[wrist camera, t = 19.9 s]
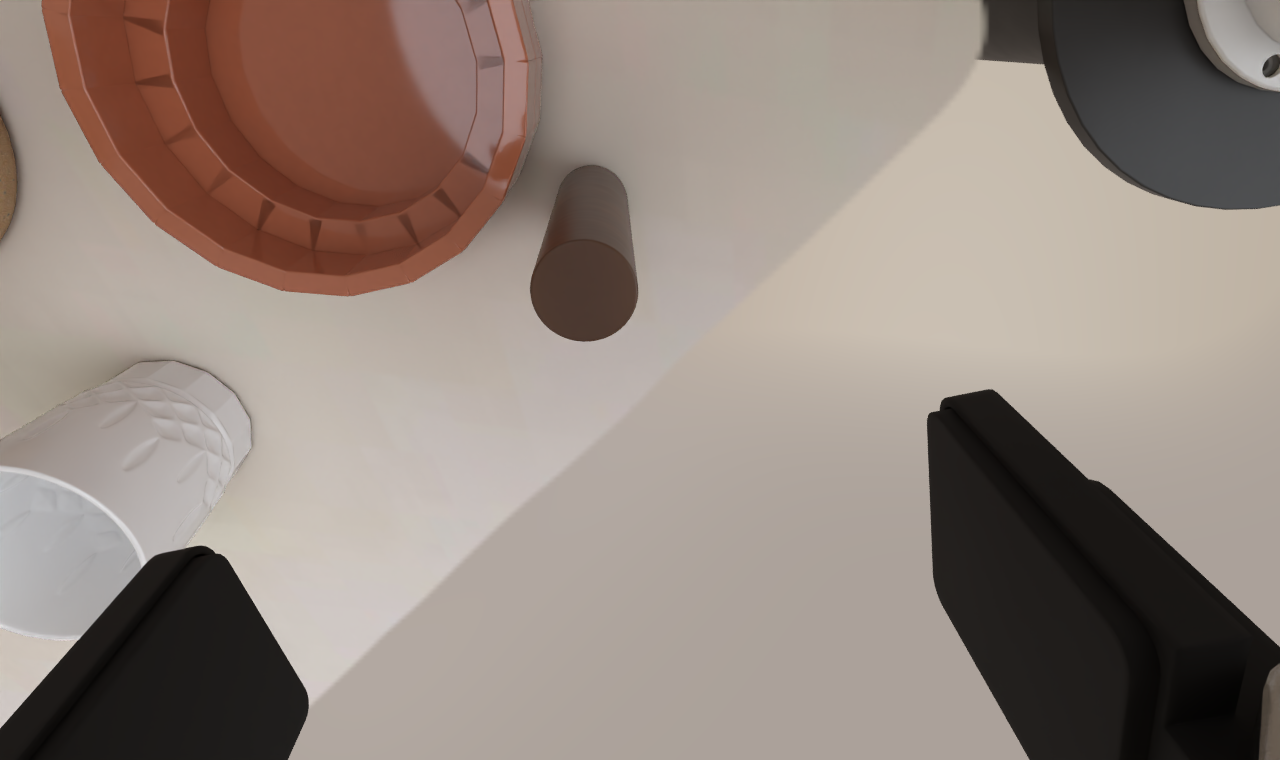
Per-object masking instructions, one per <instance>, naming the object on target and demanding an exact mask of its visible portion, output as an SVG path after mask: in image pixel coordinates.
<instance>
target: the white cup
mask: <svg viewBox="0 0 1280 760" xmlns="http://www.w3.org/2000/svg"><path fill="white" fill-rule="evenodd" d="M251 447H252V443H251V424H250V419H249V417H248V415H247V413H246V412H245V410H244V408H243V407H242V405H241V403H240V402H239V400H238V398H237V396H236V395H235V393H234V392H232V391H231V390H230V389H229V388H227V387H226V386H225V385H223V384H222V383H221V382H220V381H218V380H217V379H216V378H214V377H213V376H212V375H211V374H209V373H208V372H206V371H203V370H200V369H197V368H194V367H191V366H188V365H185V364H182V363H179V362H176V361H156V362H139V363H137V364H135V365H134V366H132V367H130V368H128V369H127V370H125V371H123V372H121V373H120V374H118V375H116V376H114V377H113V378H111V379H109V380H108V381H106V382H105V383H103V384H101V385H99V386H97V387H95V388H92V389H89V390H85V391H83V392H81V393H79V394H78V395H76V396H75V397H73V398H71V399H69V400H67V401H65V402H63V403H61V404H59V405H57V406H56V407H54V408H52V409H51V410H49V411H47V412H46V413H44V414H42V415H41V416H39V417H37V418H36V419H34V420H32V421H31V422H29V423H27V424H26V425H24V426H22V427H21V428H19V429H17V430H16V431H14V432H12V433H10V434H9V435H7V436H5V437H4V438H2V439H0V628H1V629H4V630H7V631H10V632H13V633H16V634H20V635H24V636H28V637H33V638H39V639H46V640H58V641H72V640H79V639H80V638H81V636H82V635H83V634H84V633H85V632H86V631H87V630H88V629H89V627H90V626H91V625H92V624H93V623H94V622H95V621H96V619H97V618H98V617H99V616H100V615H101V614H102V613H103V612H104V610H105V609H106V608H107V607H108V606H109V605H110V604H111V602H112V601H113V600H114V599H115V598H116V597H117V596H118V594H119V593H120V592H121V591H122V590H123V589H124V588H125V587H126V585H127V584H128V583H129V582H130V581H131V580H132V579H133V577H134V576H135V575H136V574H137V573H138V572H139V571H140V570H141V568H142V567H143V566H144V565H145V564H146V563H147V562H148V561H149V560H150V559H151V558H152V557H153V556H155V555H158V554H161V553H165V552H170V551H175V550H180V549H185V548H186V546H187V545H188V543H189V542H190V541H191V539H192V538H193V537H194V535H195V534H196V533H197V531H198V530H199V528H200V527H201V526H202V524H203V523H204V521H205V520H206V519H207V517H208V516H209V514H210V513H211V511H212V509H213V508H214V506H215V505H216V503H217V502H218V501H219V499H220V498H221V497H222V495H223V494H224V492H225V489H226V485H227V484H228V483H229V481H230V480H231V479H232V477H233V476H234V475H235V473H236V472H237V471H238V469H239V468H240V466H241V464H242V463H243V461H244V459H245V458H246V456H247V454H248V452H249V451H250V449H251Z"/></svg>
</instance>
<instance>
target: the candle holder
mask: <svg viewBox="0 0 1280 760" xmlns="http://www.w3.org/2000/svg"><path fill="white" fill-rule="evenodd" d="M16 192H17V175H16V165H15V157H14V154H13V150H12V146H11V142H10V138H9V135H8V132H7V130H6V127H5V125H4V123H3V120H2V118H1V115H0V241H1V239H2V237H3V236H4V234H5V232H6V230H7V228H8V226H9V225H10V222H11V218H12V215H13V211H14V208H15V205H16Z"/></svg>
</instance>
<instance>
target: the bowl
mask: <svg viewBox="0 0 1280 760" xmlns="http://www.w3.org/2000/svg"><path fill="white" fill-rule="evenodd" d="M42 8H43V9H42V12H43V17H44V21H45V25H46V30H47V34H48V38H49V43H50V47H51V51H52V56H53V60H54V64H55V69H56V73H57V77H58V82H59V86H60V89H61V90H62V94H63V96H64V97H65V99H66V101H67V103H68V105H69V107H70V109H71V111H72V112H73V114H74V116H75V118H76V120H77V122H78V124H79V125H80V127H81V129H82V131H83V133H84V135H85V137H86V139H87V140H88V142H89V144H90V146H91V148H92V150H93V152H94V154H95V155H96V157H97V159H98V161H99V162H100V163H102V164H101V165H102V166H103V167H104V169H105V170H106V171H107V172H108V173H109V174H110V175H111V176H112V177H113V179H114V180H115V181H116V182H117V183H118V184H119V185H120V186H121V187H122V189H123V190H124V191H125V192H126V193H127V194H128V195H129V196H130V197H131V199H132V200H133V201H134V202H135V203H136V204H137V205H138V206H139V207H140V209H141V210H142V211H143V212H144V213H145V214H146V215H147V216H148V217H149V219H150V220H151V221H152V222H154V223H155V225H157V226H158V227H159V228H161V229H162V230H164V231H165V232H167V233H168V234H170V235H171V236H173V237H174V238H176V239H177V240H178V241H180V242H181V243H183V244H184V245H186V246H187V247H189V248H190V249H192V250H193V251H195V252H196V253H197V254H199V255H200V256H202V257H203V258H205V259H206V260H208V261H209V262H211V263H212V264H214V265H215V266H218V267H219V268H221V269H224V270H227V271H230V272H232V273H235V274H238V275H241V276H243V277H246V278H249V279H251V280H254V281H257V282H260V283H262V284H265V285H268V286H270V287H273V288H276V289H279V290H281V291H288V292H300V293H313V294H325V295H337V296H355V295H359V294H364V293H368V292H373V291H377V290H382V289H386V288H391V287H395V286H400V285H404V284H409V283H410V282H414V281H416V280H417V279H419V278H420V277H422V276H424V275H425V274H427V273H429V272H430V271H432V270H434V269H435V268H437V267H438V266H440V265H442V264H443V263H445V262H447V261H448V260H450V259H451V258H453V257H455V256H456V255H458V254H460V253H461V252H462V251H463V250H465V249H466V248H467V246H468V245H469V244H470V243H471V241H472V240H473V239H474V238H475V236H476V235H477V234H478V233H479V231H480V230H481V229H482V228H483V226H484V225H485V224H486V223H487V222H488V220H489V219H490V218H491V217H492V215H493V214H494V213H495V212H496V210H497V209H498V208H499V207H500V205H501V204H502V203H503V201H504V200H505V198H506V196H507V195H508V193H509V191H510V190H511V188H512V187H513V185H514V183H515V182H516V180H517V179H518V177H519V175H520V174H521V171H522V168H523V166H524V163H525V160H526V157H527V155H528V152H529V149H530V146H531V143H532V141H533V138H534V135H535V132H536V130H537V127H538V124H539V119H540V107H541V82H542V53H541V49H540V45H539V41H538V37H537V33H536V29H535V25H534V21H533V17H532V13H531V9H530V5H529V1H528V0H42Z"/></svg>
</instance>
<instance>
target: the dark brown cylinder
mask: <svg viewBox="0 0 1280 760" xmlns="http://www.w3.org/2000/svg"><path fill="white" fill-rule="evenodd" d="M530 294H531V300H532V304H533V307H534V309H535V311H536V313H537V315H538V317H539V318H540V319H541V321H542V322H543V323H544V324H545V325H546V326H547V327H548V328H549V329H550V330H552V331H553V332H555V333H556V334H558V335H560V336H562V337H564V338H567V339H570V340H575V341H583V342H584V341H596V340H600V339H603V338H606V337H608V336H610V335H612V334H614V333H616V332H617V331H618V330H620V329H621V328H622V327H623V326H624V325H625V324H626V323H627V321H628V320H629V319H630V317H631V316H632V314H633V312H634V309H635V307H636V303H637V299H638V283H637V275H636V266H635V258H634V250H633V241H632V233H631V225H630V216H629V208H628V200H627V193H626V190H625V187H624V185H623V183H622V182H621V180H620V179H619V178H618V177H617V176H616V175H615V174H614V173H613V172H611V171H610V170H608V169H606V168H603V167H600V166H584V167H580V168H578V169H576V170H574V171H572V172H571V173H570V174H568V175H567V177H566V178H565V179H564V180H563V182H562V183H561V185H560V188H559V191H558V194H557V197H556V200H555V204H554V207H553V210H552V213H551V216H550V220H549V223H548V226H547V229H546V233H545V236H544V239H543V242H542V245H541V249H540V252H539V255H538V258H537V261H536V265H535V268H534V271H533V274H532V278H531V284H530Z"/></svg>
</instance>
